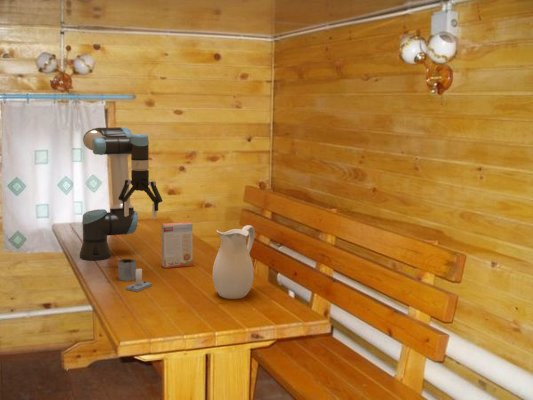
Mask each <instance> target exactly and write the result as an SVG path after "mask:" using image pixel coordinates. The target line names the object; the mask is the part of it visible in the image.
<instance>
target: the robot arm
mask: <svg viewBox="0 0 533 400" xmlns="http://www.w3.org/2000/svg"><path fill="white" fill-rule="evenodd" d="M82 141H83V145H84V147H86V148H87V149H89V150H90V151H92V152H93V154H94V155H99V156H102V155H107V157H109V159H110V160H109V161H110V174H111V175H110V176H111V194H112V206H111V207H110V209H109V211H107V210H106V209H103V208H101V209H100V208H99V209H94V210H89V211H86V212H84V213H83V215H82V219H81V220H82V221H81V224H82V245H81V248H80V252H79V258H80V260H84V261H103V260H108V259H110V258H111V257H112V251H111V250H110V246H109V243H108V237H109V236H123V235H125V236H127V235H132V234H134V233H135V232H136V231H137V227H138V223H139V222H138V220H139V216H138V212H137V210H135V209H134V206H133V205H132V204H131V196H132V195H133V193H134V192H135V191H137V192H138V191H141V192H143V191H144V192H145V193H146V194H147V196H148V197H149V199H150V200H151V201H152V205H151V207H152V209H151V210H152V211H151V212H152V214H151V215H152V216H151V217H152V219H154V220H155V219H157V217H158V216H157V212H158V211H159V204H160V203H162V202H164V201H163V199H162V196H161V194H160V192H159V189H158V187H157V186H156V185H157V184H156V181H155V180H152V181H149V177H150V175H149V174H150V173H149V172H150V171H149V168H150V166H149V165H150V164H149V157H150V155H149V154H150V153H149V149H150V148H149V144H150V142H149V136H148V134H145V133H136V134H135V133H133V134H132V132H131V129H129V128H127V127H116V126H115V127H96V128H92V129H90V130H87V132H85V133H84V135H83V137H82ZM130 155H131V157H130V158H131V159H130V160H131V161H130V162H131V164H130V165H131V167H130V169H131V171H130V173H131V179H130V178H129V177H130V176H129V159H128V158H129V156H130ZM130 185H131V187H130ZM149 186H150V187H149ZM151 189H152V190H151Z"/></svg>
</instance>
